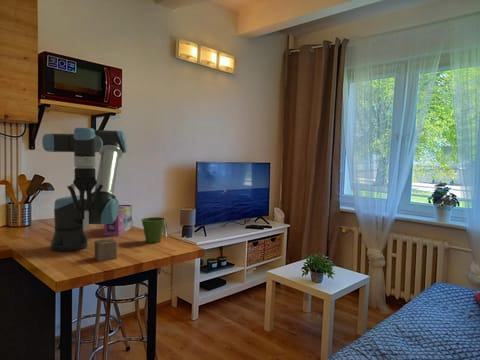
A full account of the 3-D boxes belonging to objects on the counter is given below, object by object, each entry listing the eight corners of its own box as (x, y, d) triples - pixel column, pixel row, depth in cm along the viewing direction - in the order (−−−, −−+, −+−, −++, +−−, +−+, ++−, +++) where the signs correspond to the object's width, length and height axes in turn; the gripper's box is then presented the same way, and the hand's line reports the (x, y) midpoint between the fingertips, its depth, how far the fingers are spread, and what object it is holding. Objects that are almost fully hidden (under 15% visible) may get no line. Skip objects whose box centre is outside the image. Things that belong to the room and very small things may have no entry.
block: (94, 240, 143) (111, 238, 147) (94, 257, 143) (112, 254, 147) (98, 244, 137) (116, 242, 141) (99, 261, 138) (116, 258, 142)
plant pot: (159, 237, 180) (159, 216, 179) (169, 242, 170) (169, 219, 169) (137, 240, 172) (137, 218, 172) (146, 245, 163) (146, 222, 162)
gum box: (117, 236, 180) (117, 211, 179) (102, 236, 180) (102, 210, 179) (132, 227, 204) (132, 204, 203) (118, 227, 204) (118, 204, 203)
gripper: (69, 168, 129) (70, 230, 130) (105, 167, 137) (105, 226, 138) (64, 167, 135) (65, 227, 136) (99, 167, 143) (100, 223, 144)
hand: (85, 226), depth 137 cm, fingers closed
